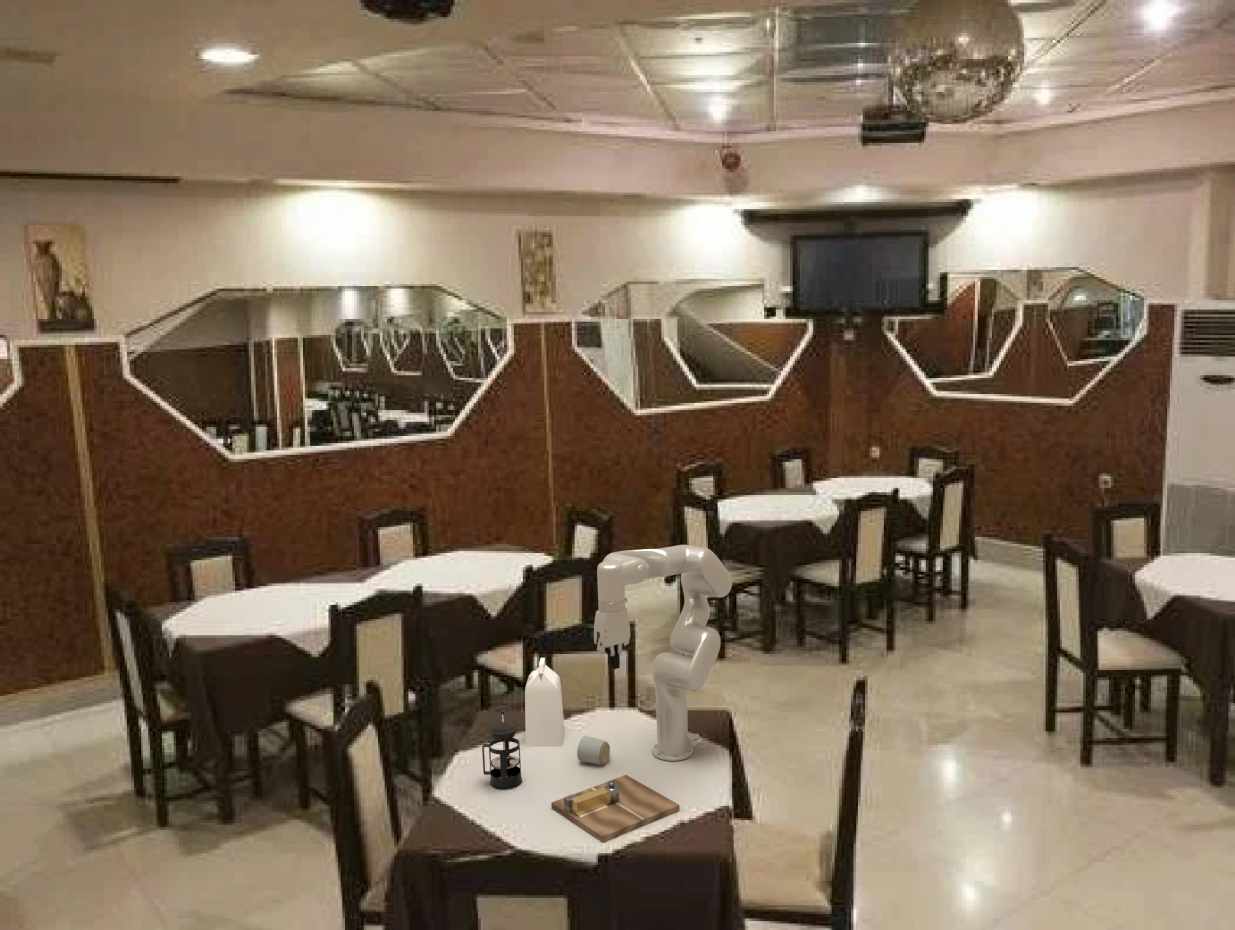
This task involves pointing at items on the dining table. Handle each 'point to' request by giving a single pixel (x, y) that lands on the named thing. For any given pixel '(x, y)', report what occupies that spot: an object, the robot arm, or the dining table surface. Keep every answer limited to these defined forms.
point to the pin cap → (611, 784)
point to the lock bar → (594, 799)
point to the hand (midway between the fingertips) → (614, 667)
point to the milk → (543, 708)
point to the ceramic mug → (593, 750)
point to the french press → (503, 754)
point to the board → (619, 809)
